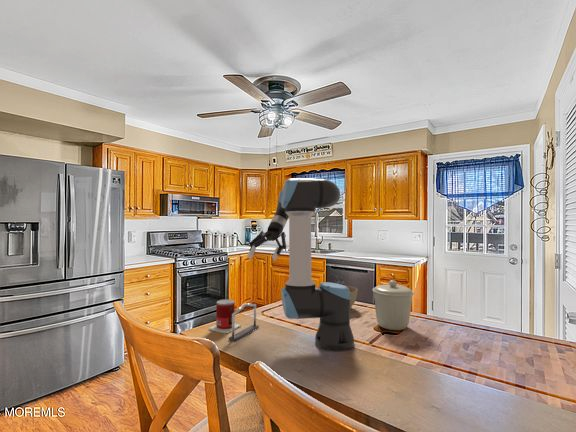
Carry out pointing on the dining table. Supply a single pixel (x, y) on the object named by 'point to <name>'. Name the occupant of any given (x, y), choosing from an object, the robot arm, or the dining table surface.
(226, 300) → the canned food
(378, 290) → the canister
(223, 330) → the sage mat
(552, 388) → the dining table surface
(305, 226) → the robot arm
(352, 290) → the planter bowl
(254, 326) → the metal handle
